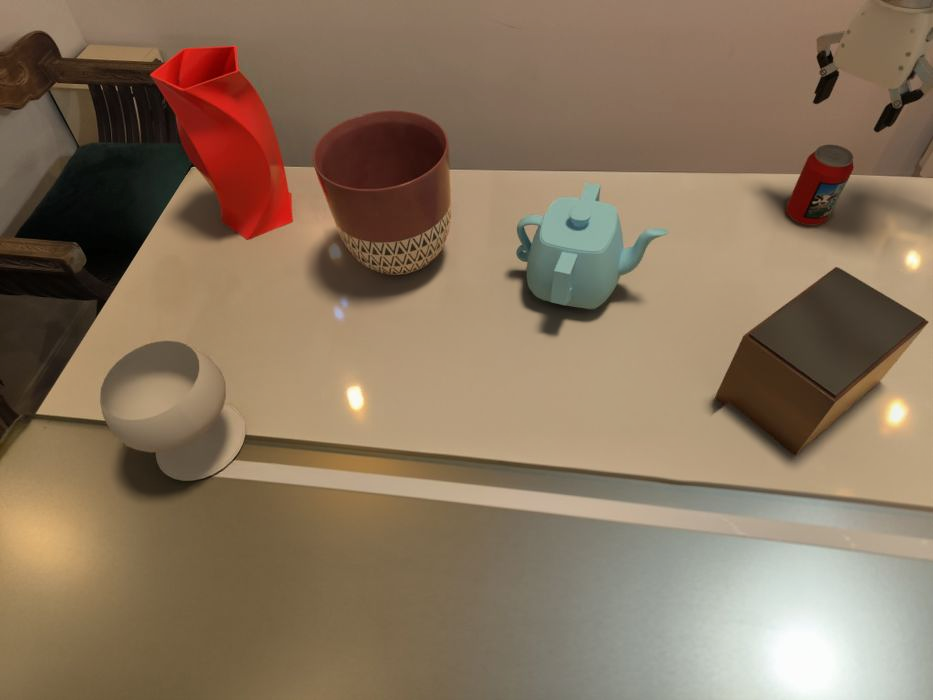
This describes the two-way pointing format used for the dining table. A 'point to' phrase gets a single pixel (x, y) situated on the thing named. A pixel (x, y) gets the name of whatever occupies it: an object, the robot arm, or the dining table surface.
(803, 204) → the beverage can
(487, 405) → the dining table surface
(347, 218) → the planter
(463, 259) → the dining table surface
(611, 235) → the teapot
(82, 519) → the dining table surface
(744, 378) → the riser
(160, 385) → the chalice
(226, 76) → the vase
